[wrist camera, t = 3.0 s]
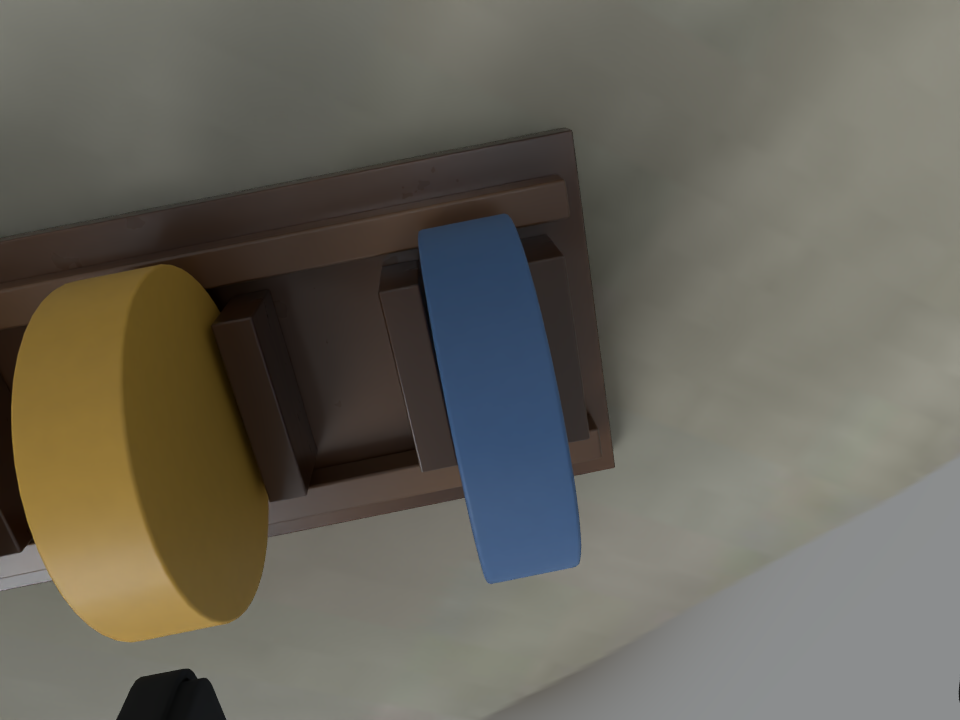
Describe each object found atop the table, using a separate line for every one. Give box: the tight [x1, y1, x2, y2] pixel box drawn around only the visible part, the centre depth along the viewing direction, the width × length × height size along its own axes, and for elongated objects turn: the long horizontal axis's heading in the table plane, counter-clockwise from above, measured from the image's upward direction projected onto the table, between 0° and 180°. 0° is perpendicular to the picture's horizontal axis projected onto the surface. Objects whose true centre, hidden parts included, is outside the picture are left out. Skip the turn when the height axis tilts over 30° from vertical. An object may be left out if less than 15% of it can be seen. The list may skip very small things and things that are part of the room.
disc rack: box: [0, 128, 615, 591], centre depth 20 cm, size 22×10×3 cm, turn 100°
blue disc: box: [418, 214, 581, 584], centre depth 17 cm, size 2×8×8 cm, turn 10°
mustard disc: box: [11, 264, 269, 642], centre depth 17 cm, size 2×8×8 cm, turn 10°
